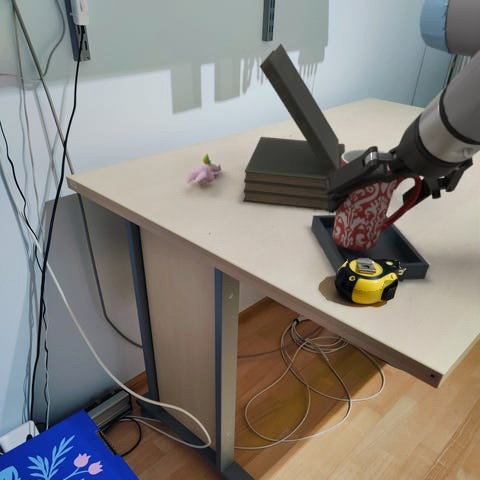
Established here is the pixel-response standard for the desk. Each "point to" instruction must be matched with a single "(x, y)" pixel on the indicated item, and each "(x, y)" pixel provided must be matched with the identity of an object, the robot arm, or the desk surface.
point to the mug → (368, 210)
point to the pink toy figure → (204, 172)
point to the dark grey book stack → (293, 146)
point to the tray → (387, 247)
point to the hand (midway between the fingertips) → (368, 203)
